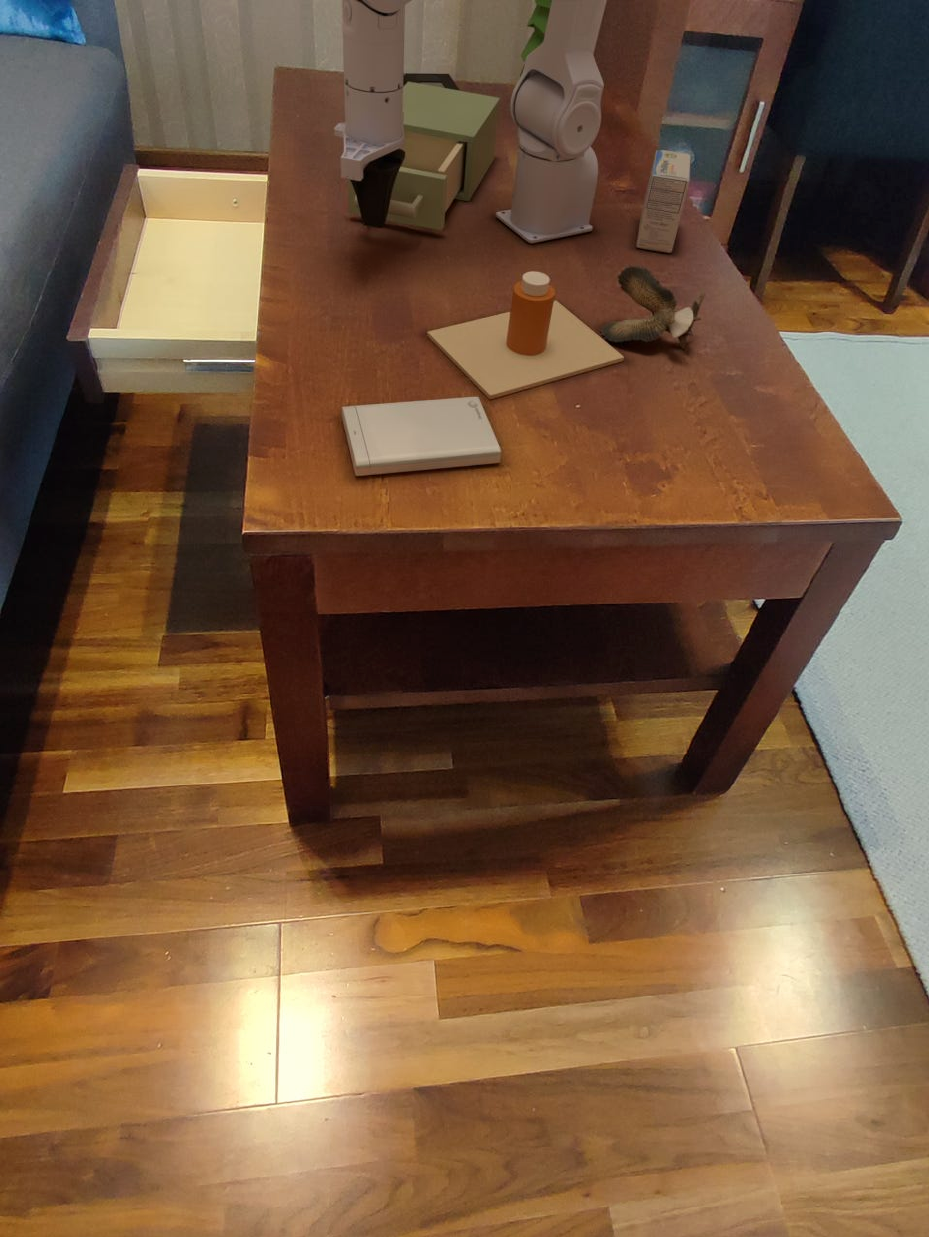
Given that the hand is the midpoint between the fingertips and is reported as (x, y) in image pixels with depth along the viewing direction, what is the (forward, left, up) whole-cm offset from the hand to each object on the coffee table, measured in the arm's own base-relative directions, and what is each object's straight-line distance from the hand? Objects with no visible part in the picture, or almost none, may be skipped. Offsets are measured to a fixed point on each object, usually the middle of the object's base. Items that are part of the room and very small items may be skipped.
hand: (374, 224), depth 91 cm
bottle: (-6, +22, -3) cm, 23 cm away
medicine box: (-35, +8, -4) cm, 36 cm away
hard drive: (+11, +31, -4) cm, 33 cm away
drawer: (-9, -9, -3) cm, 13 cm away
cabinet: (-19, -19, -4) cm, 27 cm away
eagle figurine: (-19, +26, -4) cm, 32 cm away
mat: (-6, +22, -4) cm, 23 cm away
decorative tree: (-44, -29, -4) cm, 53 cm away
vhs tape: (-31, -40, -4) cm, 51 cm away
